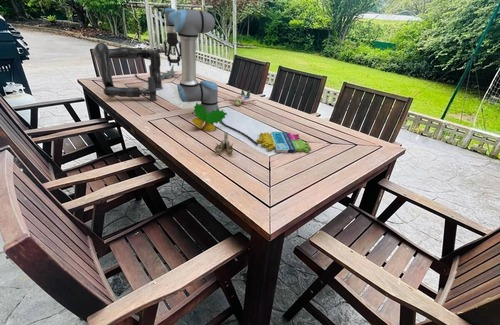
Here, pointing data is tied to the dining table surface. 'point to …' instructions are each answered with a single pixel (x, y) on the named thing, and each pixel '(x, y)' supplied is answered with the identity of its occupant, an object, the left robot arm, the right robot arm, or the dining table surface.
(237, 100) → the toy
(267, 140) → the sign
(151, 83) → the jar
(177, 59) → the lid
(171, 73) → the airplane
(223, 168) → the dining table surface
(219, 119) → the ornament
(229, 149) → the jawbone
